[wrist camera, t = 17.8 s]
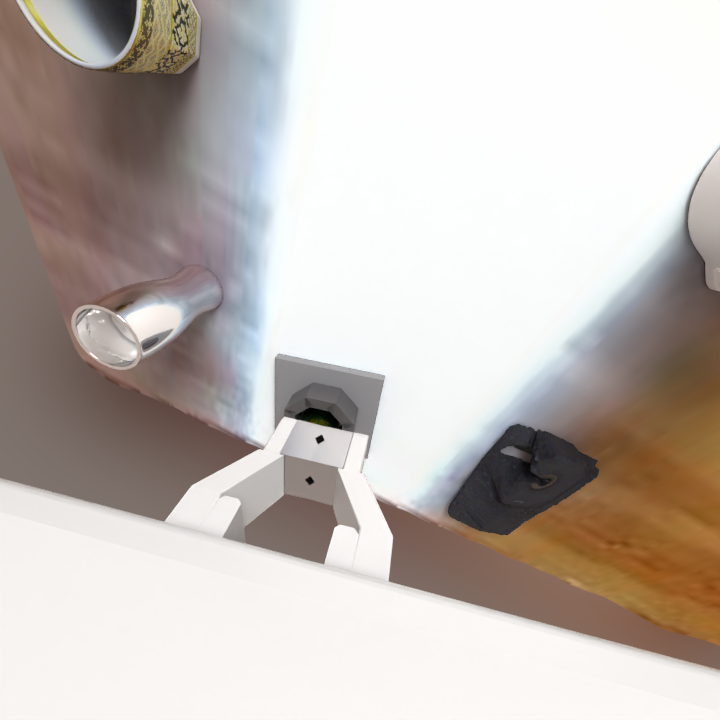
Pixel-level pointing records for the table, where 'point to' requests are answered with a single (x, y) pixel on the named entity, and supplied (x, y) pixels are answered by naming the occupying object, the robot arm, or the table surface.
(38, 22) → the ceramic cup
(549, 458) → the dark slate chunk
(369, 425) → the barrel holder
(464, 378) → the table surface
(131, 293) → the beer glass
